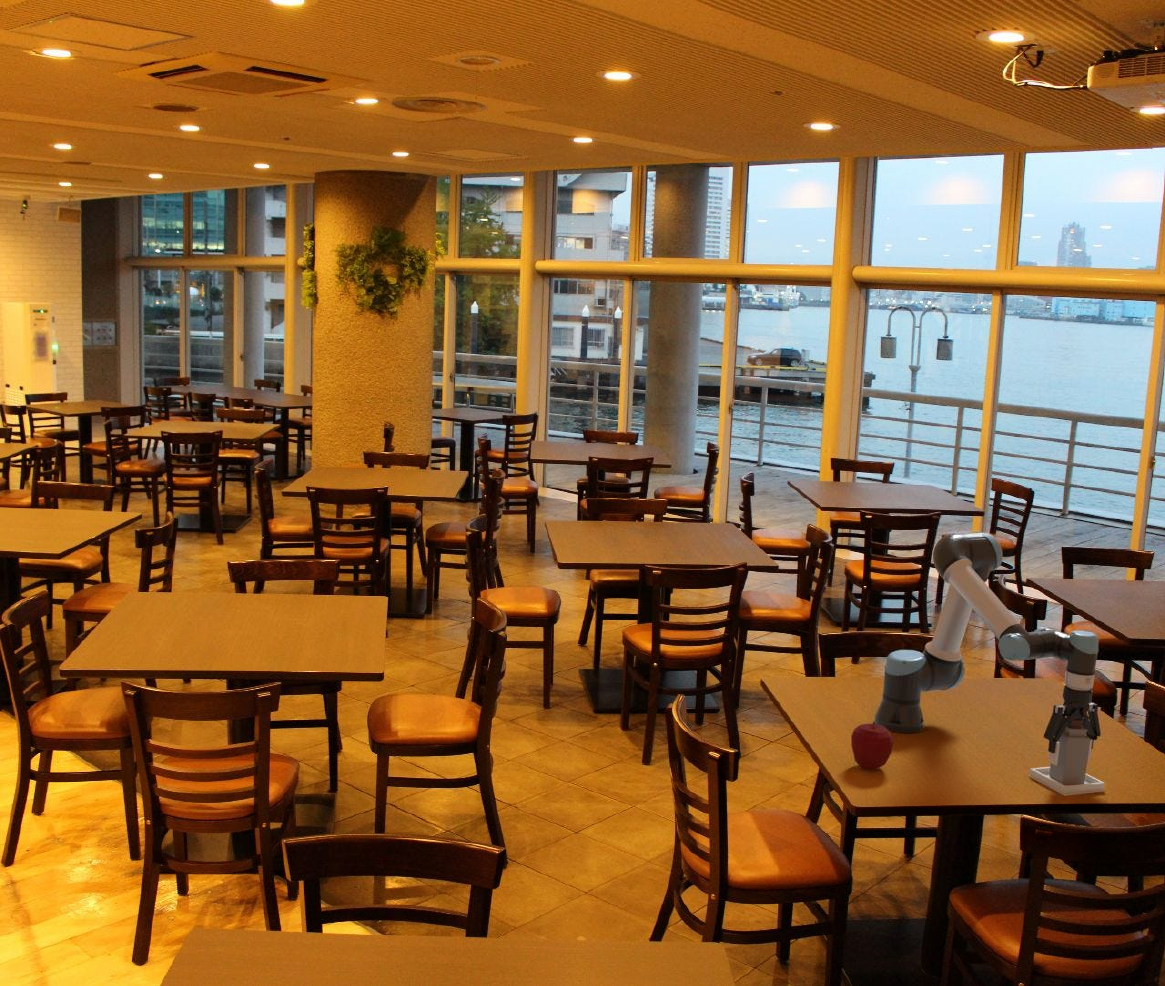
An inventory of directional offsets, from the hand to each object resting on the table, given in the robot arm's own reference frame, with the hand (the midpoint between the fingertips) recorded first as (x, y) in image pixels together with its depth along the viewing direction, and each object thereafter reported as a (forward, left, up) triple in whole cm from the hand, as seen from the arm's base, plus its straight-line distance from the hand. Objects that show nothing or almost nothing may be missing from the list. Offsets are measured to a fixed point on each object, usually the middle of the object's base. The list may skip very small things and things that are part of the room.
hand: (1068, 762), depth 348 cm
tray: (0, 0, -6) cm, 6 cm away
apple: (-50, +23, -7) cm, 55 cm away
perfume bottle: (0, 0, -6) cm, 6 cm away
